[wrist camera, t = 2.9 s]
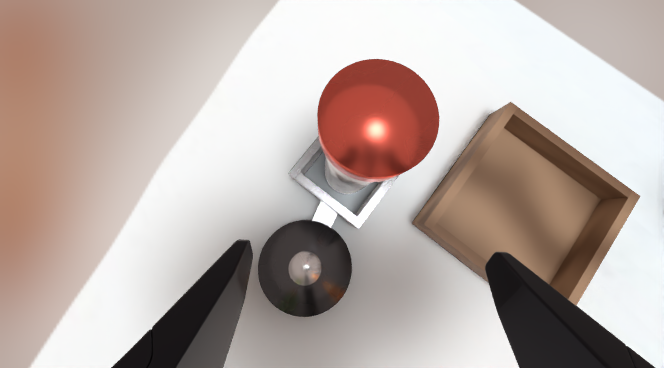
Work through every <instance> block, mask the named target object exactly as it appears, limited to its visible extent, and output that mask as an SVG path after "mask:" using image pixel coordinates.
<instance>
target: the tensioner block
mask: <svg viewBox="0 0 664 368" xmlns="http://www.w3.org/2000/svg"><path fill="white" fill-rule="evenodd" d="M322 152H323V150H322V147H321V144H320V141H319V136H318V137H317V139H316V140H315V141H314V142H313V144H312V145H311V146H310V147H309V148H308V150H307V151H306V152H305V153H304V155H303V156H302V157H301V158H300V159H299V161H298V162H297V163H296V164H295V165H294V167H293V168H292V169H291V170H290V172H289V173H288V174H289V175H290V176H291V177H292V179H294V180H295V181H296V182H298V183H299V184H300V185H301V186H303V187H304V188H305V189H306V190H308V191H309V192H310V193H312V194H313V195H314V196H315V197H317V198H318V199H319V200H320V201H321V202H320V204H319V206H318V208H317V211H316V213H315V215H314V217H313V220H301V221H296V222H292V223H289V224H287V225H285V226H283V227H281V228H280V229H278V230H277V231H276V232H275V233H274V234H273V235H272V236H271V237H270V238H269V239H268V241H267V242H266V243H265V245H264V247H263V249H262V252H261V255H260V258H259V265H258V275H259V281H260V284H261V287H262V290H263V292H264V294H265V295H266V297H267V298H268V299H269V301H270V302H271V303H272V304H273V305H274V306H275V307H277V308H278V309H279V310H281V311H283V312H285V313H287V314H290V315H293V316H299V317H309V316H315V315H318V314H321V313H323V312H325V311H327V310H329V309H330V308H332V307H333V306H334V305H335V304H336V303H338V301H339V300H340V299H341V298H342V297H343V295H344V293H345V292H346V290H347V288H348V285H349V282H350V279H351V273H352V263H351V256H350V253H349V250H348V248H347V245H346V243H345V242H344V240H343V239H342V238H341V236H340V235H339V234H338V233H337V232H336V231H335V230H334V229H332V228H331V227H332V225H333V222H334V220H335V218H336V216H337V214H338V215H340V216H341V217H342V218H343V219H345V220H346V221H347V222H348V223H350V224H351V225H352V226H354V227H355V228H358V229H359V228H360V227H361V225H362V224H363V223H364V221H365V220H366V219H367V217H368V216H369V215H370V213H371V212H372V211H373V209H374V208H375V207H376V205H377V204H378V203H379V201H380V200H381V199H382V197H383V196H384V195H385V193H386V192H387V191H388V189H389V188H390V187H391V185H392V184H393V183H394V181H395V180H396V179H397V177H398V176H399V175H398V176H396V177H394V178H392V179H389V180H386V181H380V182H379V183H378V185H377V186H376V187H375V189H374V190H373V191H372V193H371V194H370V195H369V197H368V198H367V199H366V201H365V202H364V203H363V205H362V206H361V207H360V208H359V210H358V211H357V212H356V214H355V215H354V214H353V213H352V212H350V211H349V210H348V209H346V208H345V207H344V206H343V205H341V204H340V203H339V202H337V201H336V200H335V199H334V198H332V197H331V196H330V195H329V194H327V193H326V192H325V191H323V190H322V189H321V188H320V187H318V186H317V185H316V184H314V183H313V182H312V181H311V180H309V179H308V178H307V177H305V176H304V174H305V173H306V172H307V171H308V169H309V168H310V167H311V166H312V164H313V163H314V162H315V161H316V160H317V158H318V157H319V156H320V155H321V153H322Z"/></svg>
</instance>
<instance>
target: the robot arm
mask: <svg viewBox="0 0 664 368" xmlns="http://www.w3.org/2000/svg"><path fill="white" fill-rule="evenodd" d="M252 259H253V253H252V249H251V244H250V241H249V240H241V239H239V240H237V241H236V242H235V243H234V244H233V245H232V246H231V247H230V248H229V249H228V250H227V251H226V252H225V253H224V254H223V255H222V256H221V257H220V258H219V259H218V260H217V261H216V262H215V263H214V264H213V265H212V266H211V267H210V268H209V269H208V270H207V271H206V272H205V273H204V274H203V275H202V277H201V278H200V279H199V280H198V281H197V282H196V283H195V284H194V285H193V286H192V287H191V288H190V289H189V290H188V291H187V292H186V293H185V294H184V295H183V296H182V297H181V298H180V299H179V300H178V301H177V302H176V303H175V304H174V305H173V306H172V307H171V308H170V309H169V310H168V312H167V313H166V314H165V315H164V316H163V317H162V318H161V319H160V320H159V321H158V322H157V323H156V324H155V325H154V326H153V327H152V330H149V331H148V332H147V333H146V334H145V335H144V336H143V337H142V338H141V339H140V340H139V341H138V342H137V343H136V344H135V345H134V346H133V347H132V348H131V349H130V350H129V351H128V352H127V353H126V354H125V355H124V356H123V357H122V358H121V359H120V360H119V361H118V362H117V363H116V364H115V365H114V366H113V367H111V368H223V367H224V363H225V360H226V357H227V354H228V351H229V348H230V345H231V341H232V338H233V335H234V332H235V329H236V326H237V322H238V319H239V316H240V313H241V310H242V307H243V303H244V299H245V294H246V290H247V284H248V279H249V274H250V269H251V264H252ZM485 272H486V275H487V279H488V282H489V285H490V289H491V292H492V296H493V299H494V303H495V306H496V309H497V312H498V315H499V318H500V320H501V323H502V325H503V328H504V330H505V333H506V335H507V338H508V340H509V343H510V345H511V348H512V350H513V353H514V355H515V358H516V360H517V363H518V365H519V368H655V367H654V366H652V365H651V364H650V363H649V362H647V361H646V360H645V359H643V358H642V357H641V356H640V355H638V354H637V353H636V352H634V351H633V350H632V349H631V348H629V347H628V346H626V345H625V344H624V343H623V342H622V341H620V340H619V339H618V338H617V337H615V336H614V335H613V334H611V333H610V332H609V331H608V330H606V329H605V328H604V327H603V326H601V325H600V324H599V323H597V322H596V321H595V320H594V319H592V318H591V317H590V316H589V315H587V314H586V313H585V312H583V311H582V310H581V309H580V308H578V307H577V306H576V305H575V304H573V303H572V302H571V301H569V300H568V299H567V298H566V297H564V296H563V295H562V294H561V293H559V292H558V291H557V290H555V289H554V288H553V287H552V286H550V285H549V284H548V283H547V282H545V281H544V280H543V279H541V278H540V277H539V276H538V275H536V274H535V273H534V272H533V271H531V270H530V269H529V268H527V267H526V266H525V265H524V264H522V263H521V262H520V261H519V260H517V259H516V258H515V257H513V256H512V255H511V254H509V253H507V252H495V253H494V254H493V255H492V256H491V257H490V259H489V260H488V262H487V263H486V265H485Z"/></svg>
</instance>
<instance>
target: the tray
mask: <svg viewBox="0 0 664 368" xmlns="http://www.w3.org/2000/svg"><path fill="white" fill-rule="evenodd" d="M639 198H640V196H639V195H638V194H637V193H635V192H634V191H632V190H631V189H630V188H628V187H627V186H626V185H624V184H623V183H621V182H620V181H619V180H617V179H616V178H615V177H613V176H612V175H610V174H609V173H608V172H606V171H605V170H604V169H602V168H601V167H599V166H598V165H597V164H595V163H594V162H593V161H591V160H590V159H588V158H587V157H586V156H584V155H583V154H582V153H580V152H579V151H577V150H576V149H575V148H573V147H572V146H571V145H569V144H568V143H566V142H565V141H564V140H562V139H561V138H560V137H558V136H557V135H555V134H554V133H553V132H551V131H550V130H549V129H547V128H546V127H544V126H543V125H542V124H540V123H539V122H538V121H536V120H535V119H533V118H532V117H531V116H529V115H528V114H527V113H525V112H524V111H522V110H521V109H520V108H518V107H517V106H516V105H514V104H513V103H511V102H510V103H508V104H507V105H505V106H503V107H502V108H500V109H498V110H497V111H495V112H493V113H492V114H490V115H489V117H488V118H487V119H486V121H485V122H484V124H483V125H482V126H481V128H480V129H479V131H478V132H477V133H476V135H475V136H474V137H473V139H472V140H471V142H470V143H469V144H468V146H467V147H466V149H465V150H464V151H463V153H462V154H461V156H460V157H459V158H458V160H457V161H456V162H455V164H454V165H453V167H452V168H451V169H450V171H449V172H448V174H447V175H446V176H445V178H444V179H443V181H442V182H441V183H440V185H439V186H438V187H437V189H436V190H435V192H434V193H433V194H432V196H431V197H430V199H429V200H428V201H427V203H426V204H425V206H424V207H423V208H422V210H421V211H420V213H419V214H418V215H417V217H416V218H415V219H414V221H413V222H412V224H413V225H415V226H416V227H417V228H418V229H420V230H421V231H422V232H424V233H425V234H426V235H427V236H429V237H430V238H431V239H433V240H434V241H435V242H436V243H438V244H439V245H440V246H442V247H443V248H444V249H446V250H447V251H448V252H449V253H451V254H452V255H453V256H455V257H456V258H457V259H458V260H460V261H461V262H462V263H464V264H465V265H466V266H468V267H469V268H470V269H471V270H473V271H474V272H475V273H477V274H478V275H479V276H480V277H482V278H483V279H484V280H486V281H487V282H488V279H487V275H486V272H485V265H486V263H487V262H488V260H489V259H490V257H491V256H492V255H493V254H494V253H495V252H507V253H509V254H511V255H512V256H513V257H515V258H516V259H517V260H519V261H520V262H521V263H522V264H524V265H525V266H526V267H527V268H529V269H530V270H531V271H533V272H534V273H535V274H536V275H538V276H539V277H540V278H541V279H543V280H544V281H545V282H547V283H548V284H549V285H550V286H552V287H553V288H554V289H555V290H557V291H558V292H559V293H561V294H562V295H563V296H564V297H566V298H567V299H568V300H569V301H571V302H572V303H573V304H575V305H577V303H578V302H579V300H580V298H581V297H582V295H583V293H584V291H585V290H586V288H587V286H588V285H589V283H590V281H591V280H592V278H593V276H594V274H595V273H596V271H597V269H598V268H599V266H600V264H601V262H602V261H603V259H604V257H605V256H606V254H607V252H608V251H609V249H610V247H611V245H612V244H613V242H614V240H615V239H616V237H617V235H618V233H619V232H620V230H621V228H622V227H623V225H624V223H625V222H626V220H627V218H628V216H629V215H630V213H631V211H632V210H633V208H634V206H635V205H636V203H637V201H638V199H639ZM488 283H489V282H488Z"/></svg>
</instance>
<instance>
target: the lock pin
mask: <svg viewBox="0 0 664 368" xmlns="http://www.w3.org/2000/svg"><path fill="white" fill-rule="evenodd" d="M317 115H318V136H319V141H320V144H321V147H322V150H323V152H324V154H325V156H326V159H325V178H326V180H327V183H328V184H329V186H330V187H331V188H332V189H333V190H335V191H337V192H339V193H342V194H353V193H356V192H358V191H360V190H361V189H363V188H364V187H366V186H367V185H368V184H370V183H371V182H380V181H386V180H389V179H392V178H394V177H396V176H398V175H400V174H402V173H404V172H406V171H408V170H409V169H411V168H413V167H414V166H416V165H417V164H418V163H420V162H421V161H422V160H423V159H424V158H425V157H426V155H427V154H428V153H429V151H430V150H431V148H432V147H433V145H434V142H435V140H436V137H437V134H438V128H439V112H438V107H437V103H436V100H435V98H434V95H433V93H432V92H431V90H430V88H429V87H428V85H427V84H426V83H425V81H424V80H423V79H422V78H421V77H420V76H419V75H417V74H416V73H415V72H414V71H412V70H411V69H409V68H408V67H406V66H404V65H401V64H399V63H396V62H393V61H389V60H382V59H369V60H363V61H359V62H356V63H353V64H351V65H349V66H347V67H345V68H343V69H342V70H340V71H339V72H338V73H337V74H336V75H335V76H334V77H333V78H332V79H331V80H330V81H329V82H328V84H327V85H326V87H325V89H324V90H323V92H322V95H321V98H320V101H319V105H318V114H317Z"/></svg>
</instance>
